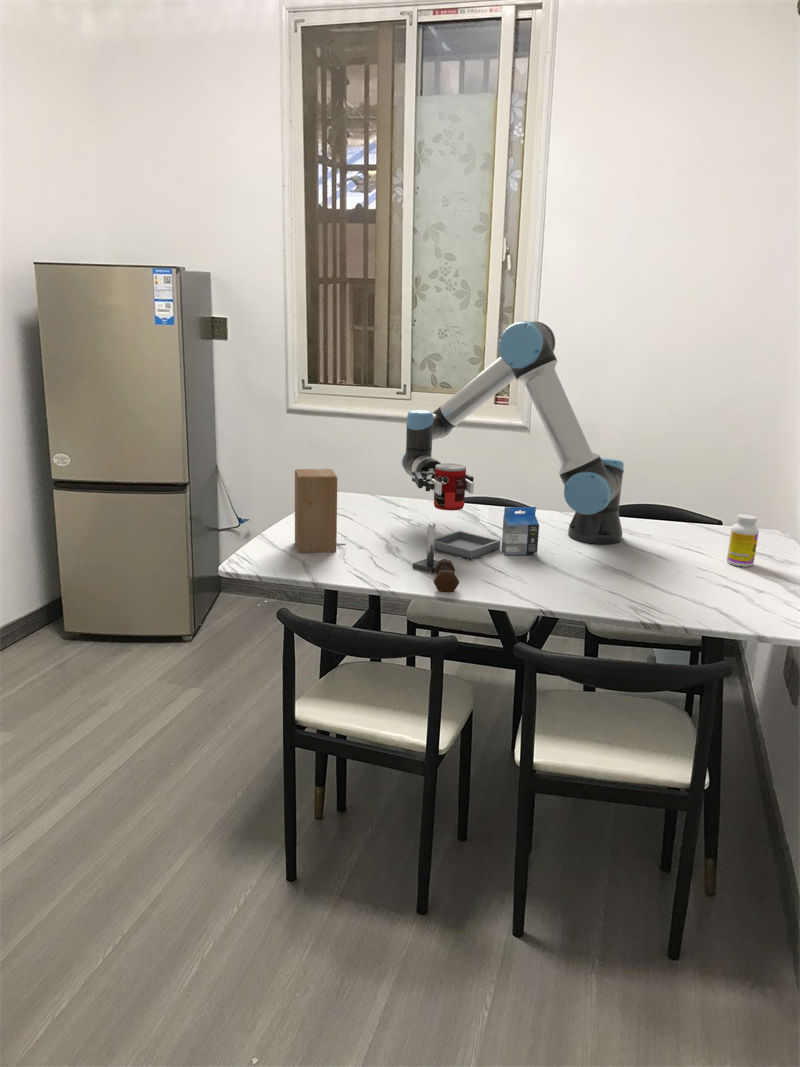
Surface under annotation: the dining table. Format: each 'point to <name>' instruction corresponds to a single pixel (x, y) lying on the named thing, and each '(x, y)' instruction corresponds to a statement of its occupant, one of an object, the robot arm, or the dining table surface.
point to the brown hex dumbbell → (445, 577)
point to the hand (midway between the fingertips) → (456, 488)
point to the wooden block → (315, 510)
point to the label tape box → (520, 531)
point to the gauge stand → (428, 552)
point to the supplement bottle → (743, 541)
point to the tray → (466, 545)
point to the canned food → (450, 486)
